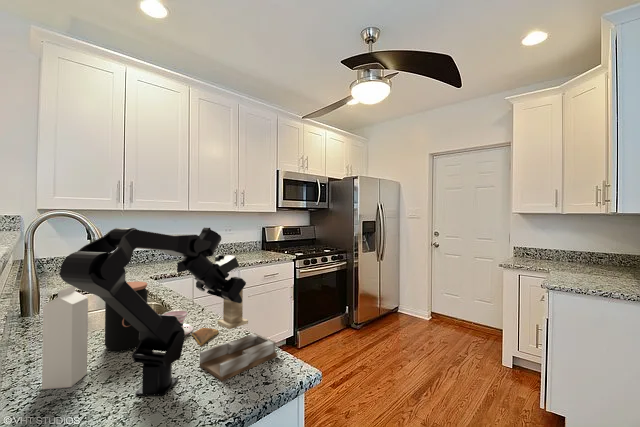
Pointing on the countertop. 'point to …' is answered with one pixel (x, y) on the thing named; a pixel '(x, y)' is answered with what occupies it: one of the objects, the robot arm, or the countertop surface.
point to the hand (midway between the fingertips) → (237, 300)
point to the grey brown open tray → (237, 356)
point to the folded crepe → (204, 335)
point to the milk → (65, 339)
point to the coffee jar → (122, 325)
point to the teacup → (181, 319)
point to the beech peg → (233, 314)
